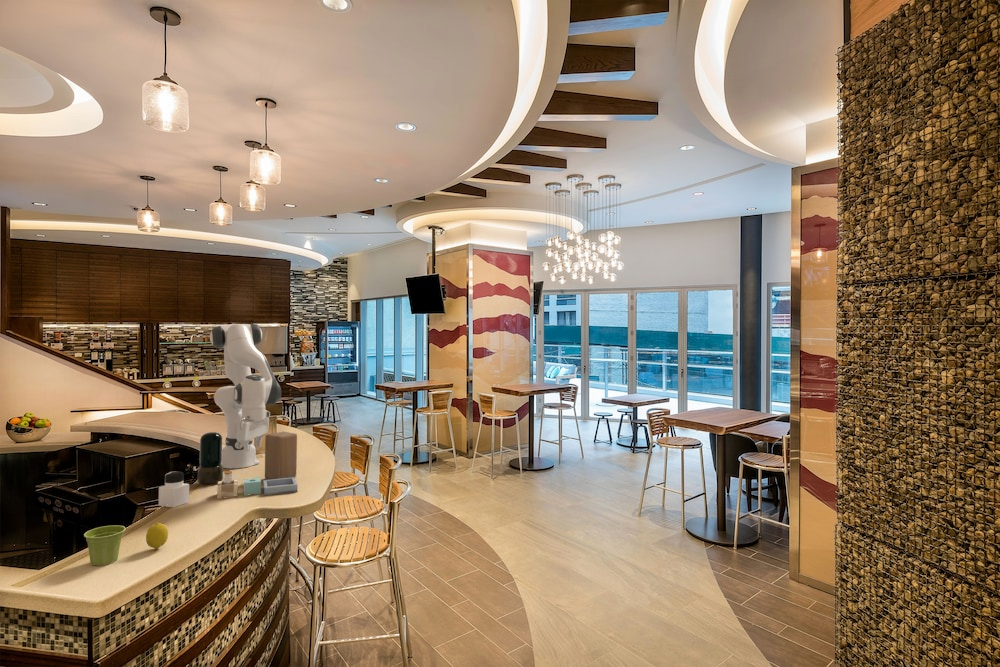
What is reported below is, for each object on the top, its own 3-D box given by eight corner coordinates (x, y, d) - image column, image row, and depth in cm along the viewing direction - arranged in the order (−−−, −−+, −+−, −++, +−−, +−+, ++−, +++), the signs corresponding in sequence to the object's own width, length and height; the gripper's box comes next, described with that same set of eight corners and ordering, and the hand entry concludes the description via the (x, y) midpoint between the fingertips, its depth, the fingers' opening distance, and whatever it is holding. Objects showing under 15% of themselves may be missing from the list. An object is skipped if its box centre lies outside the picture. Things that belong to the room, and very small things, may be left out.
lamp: (227, 482, 227) (228, 431, 227) (206, 487, 219) (207, 435, 219) (213, 478, 232) (214, 429, 232) (192, 484, 223) (193, 433, 223)
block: (263, 478, 233) (264, 434, 233) (282, 473, 242) (283, 431, 242) (278, 482, 228) (279, 436, 228) (297, 476, 237) (298, 433, 237)
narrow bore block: (244, 491, 214) (244, 479, 214) (260, 489, 217) (260, 477, 217) (244, 495, 209) (244, 483, 209) (260, 493, 211) (260, 481, 211)
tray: (263, 487, 220) (263, 480, 220) (294, 484, 226) (294, 477, 226) (264, 495, 209) (264, 488, 209) (297, 491, 215) (297, 484, 215)
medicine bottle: (189, 502, 199) (190, 471, 200) (173, 508, 193) (173, 475, 193) (174, 500, 201) (175, 469, 201) (158, 506, 195) (158, 474, 195)
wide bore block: (218, 493, 210) (218, 481, 210) (237, 491, 213) (237, 479, 213) (217, 498, 204) (217, 486, 204) (237, 496, 207) (237, 484, 207)
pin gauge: (223, 494, 209) (224, 470, 209) (230, 493, 211) (231, 469, 211) (224, 496, 207) (224, 471, 207) (231, 495, 208) (232, 470, 208)
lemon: (170, 549, 156) (170, 522, 156) (148, 554, 152) (149, 527, 152) (164, 544, 160) (165, 518, 160) (143, 549, 156) (143, 522, 156)
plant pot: (120, 552, 154) (120, 522, 154) (128, 561, 147) (129, 530, 147) (80, 561, 147) (80, 531, 147) (87, 572, 140) (88, 540, 140)
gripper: (248, 418, 202) (247, 454, 202) (272, 412, 223) (271, 444, 223) (232, 418, 202) (231, 454, 202) (257, 411, 223) (256, 443, 223)
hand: (252, 448), depth 213 cm, fingers open, 8 cm apart
